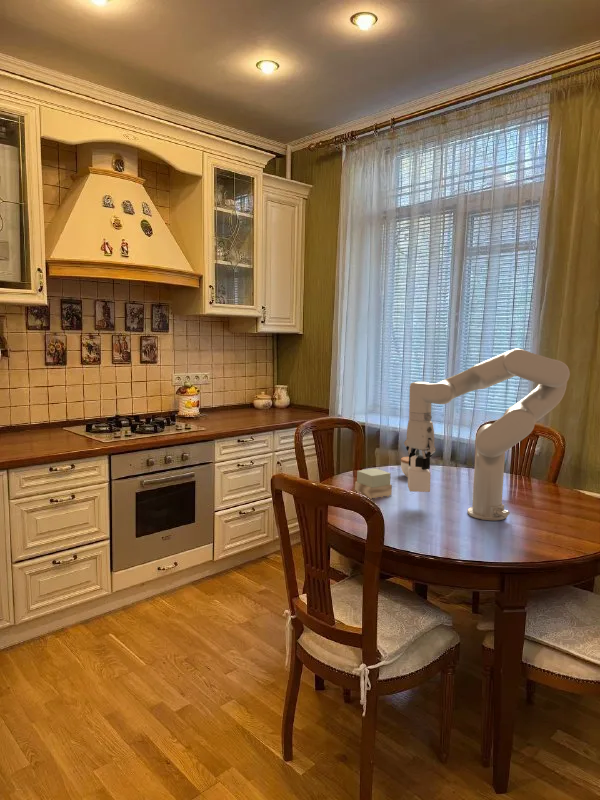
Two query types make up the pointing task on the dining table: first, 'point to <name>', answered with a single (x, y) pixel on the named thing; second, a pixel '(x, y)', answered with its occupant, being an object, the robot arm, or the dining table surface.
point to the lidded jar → (405, 465)
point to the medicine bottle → (418, 476)
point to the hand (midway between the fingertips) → (419, 466)
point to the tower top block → (373, 477)
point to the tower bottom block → (373, 490)
